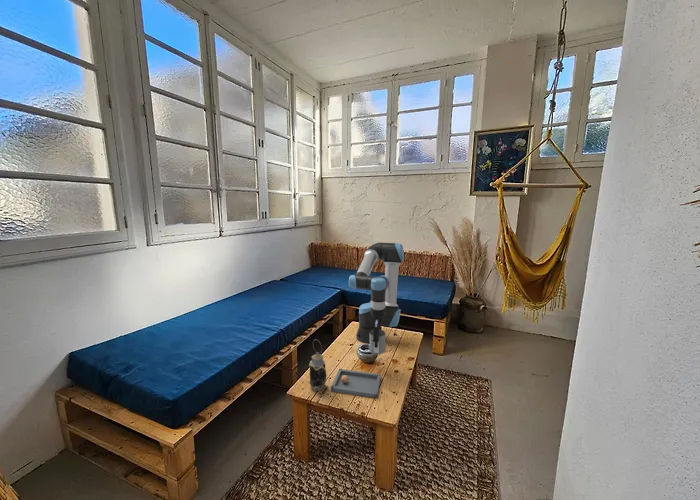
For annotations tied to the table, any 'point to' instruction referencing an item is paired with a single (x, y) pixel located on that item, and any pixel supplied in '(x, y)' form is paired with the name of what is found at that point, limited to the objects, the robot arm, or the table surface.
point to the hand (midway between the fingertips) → (377, 347)
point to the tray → (357, 383)
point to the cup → (381, 342)
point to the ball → (344, 378)
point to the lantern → (317, 371)
